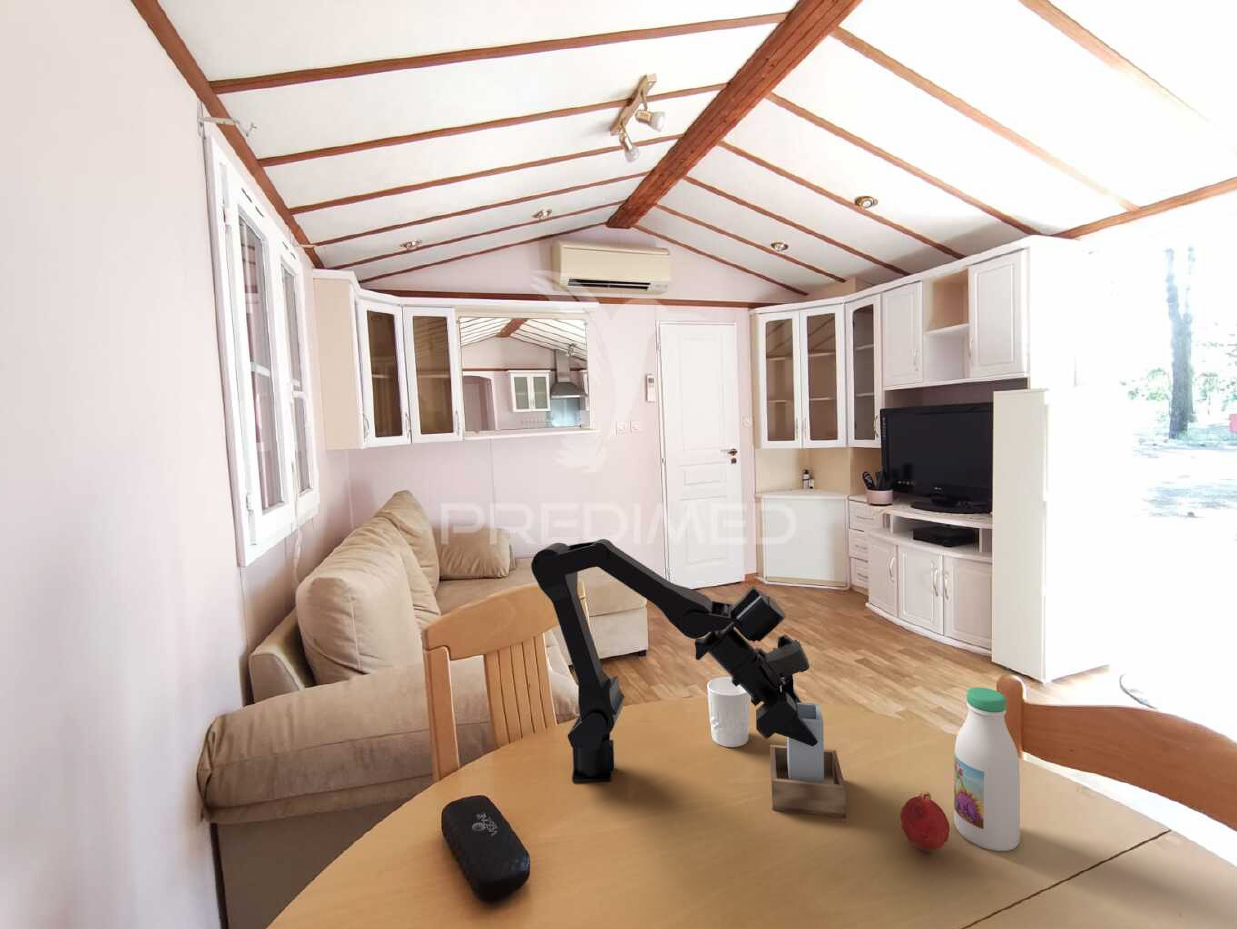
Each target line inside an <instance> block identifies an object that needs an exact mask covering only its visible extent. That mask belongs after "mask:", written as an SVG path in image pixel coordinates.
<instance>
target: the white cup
mask: <svg viewBox="0 0 1237 929" xmlns="http://www.w3.org/2000/svg"><path fill="white" fill-rule="evenodd" d="M706 685H707V688H706V690H707V702H708V703H707V704H708V714H709V724H710V734H711V739H712V741H713V742H715V743H716V744H717V745H719V746H723V747H727V748H738V747H741V746H744V745H746V744H747V743H748V741H749V727H750V715H751V696H750V695H749V694H748V693H747V692H746V691H745V690H744V689H743V688H742V687H741V686H740V685H738V686H737V687H736V686H735V685H734V684H733V683H732V677H731V676H730V677H729V676H728V677H727V676H723V677H716V678H713V679H711V680H709V681H708V682H707V684H706Z"/></svg>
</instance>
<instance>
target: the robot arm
mask: <svg viewBox="0 0 1237 929" xmlns="http://www.w3.org/2000/svg"><path fill="white" fill-rule="evenodd" d="M530 568H531V572H532V575H533V577H534V578H535V580H536V582H537V584H538V586H539V588H540V590H541V591H542V592H543V593H544V595H545V596H546V597H547V598H548V599H549V600H550V602H551V603H552V607H553V609H554V612H555V615H556V619H557V622H558V624H559V627H560V630H561V633H562V636H563V640H564V643H565V646H566V649H567V651H568V655H569V658H570V662H571V664H572V667H573V671H574V674H575V677H576V680H577V685H578V688H577V690H578V693H577V694H578V695H577V696H578V698H577V706H578V713H579V714H578V716H577V718H576V720H575V722H574V724H573V725H572V727H571V729H569V732H568V734H567V738H568V742H569V744H570V747H571V748H572V766H573V767H572V768H573V769H572V774H571V780H572V782H574V783H575V782H577V783H578V782H609V781H611V780H612V772H614V771H615V741H614V740H613V739H611V732H612V731H613V729H614V727H615V725H616V724H617V721H618V718H619V716H620V714H621V712H622V709H623V707H624V706H623V701H624V699H625V697H626V696H625V695H624V693H623V692H622V690H621V688H620V681H619V678H618V676H617V675H615V676H613V677H612V676H611V677H610V676H609V675H608V674H606V672H605V671H604V669H603V667H602V664H601V660H600V657H599V654H598V651H597V648H596V644H595V642H594V639H593V635H592V633H591V630H590V626H589V623H588V619H587V617H586V614H585V611H584V608H583V605H582V602H581V599H580V595H579V593H578V592H579V591H578V588H579V587H578V578H579V575H578V572H581V571H585V570H588V569H592V568H599V569H600V570H602V571H603V572H605V573H606V574H608V575H609V576H611V577H612V578H614V579H615V580H617V581H619V583H622V584H623V585H624V586H626V587H628V588H629V589H631V590H632V591H634V592H635V593H636V594H638V595H640V596H641V597H643V598H644V599H646V600H647V601H649V602H650V603H651V604H653V605H655V606H656V608H658V609H659V610H660V611H661V613H662V614H663V615H664V616H665V618H666V619H667V620H668V622H670V624H672V625H673V626H674V627H675V628H676V629H677V630H678V631H679V632H680V633H681V634H682V635H683V636H685V637H687V638H689V639H693V640H694V644H693V645H694V647H695V657H694V658H695V660H696V661H699V660H701V659H702V658H703V657H704V656H705V655H706V654H707V653H708V654H709V656H710V657H712V658H713V659H714V661H715V662H717V663H718V664H719V665H720V667H722V669H723V670H724V671H725V672H726V673H727V674H728V675H729V676H730V677H732V683H733V684H734V685H735V686H736V687H737V686H738V685H740V686H741V687H742V688H743V689H744V690H745V691H746V692H747V693H748V694H749V695H750V703H752V704H753V706H755V707H757V706H758V705H759V704H760V703H761V702H762V704H761V705H760V706H759V707H758V708H757V709H756V710H755V717H756V718H755V726H756V727H755V729H756V731H757V732H758V733H759V734H760V735H761V737H763V738H764V739H765V740H767V739H768V740H769V739H770V738H771V737H772V736H773V735H774V734H777V735H779V736H784V737H786V738H787V737H789V738H792V739H794V740H797V741H800V742H802V743H805V744H807V745H810V746H815V745H816V744H817V743H818V741H817V739H816V738H815V736H814V735H813V734H812V732H811V731H810V729H809V728H808V727H807V725H806V724H805V723H804V721H803V720H802V719H801V717H800V716H799V715H798V705H797V702H799V703H803V702H802V700H801V699H800V697H799V695H798V694H797V692H796V691H795V688H794V686H795V685H794V674H798V673H804V672H806V671H808V670H809V669H810V667H811V665H810V664H809V659H808V657H807V655H806V652H805V650H804V648H803V646H802V644H801V642H800V641H799V640H797V639H794V640H793V639H792V638H791V637H789V635H787V634H783V635H781V636H778V637H777V642H776V643H777V646H776V647H773V648H772V650H771V651H769V652H767V653H766V652H765V651H764V649H762V648H761V647H760V648H759V647H756V648H754V647H753V645H751V644H750V643H749V641H750V642H752V643H755V642H756V641H757V642H760V643H761V641H762V640H764V639H765V638H766V637H767V636H768V635H770V634H771V632H772V631H774V629H776V628H777V627H778V626H779V625H780V624H781V623H783V621H784V620H785V619H787V616H786V614H785V613H784V610H783V609H782V608H781V607H780V605H779V604H778V603H777V602H776V601H775V600H774V599H773V598H772V597H771V596H770V595H769V596H768V595H767V594H766V593H764V592H763V591H762V590H759V589H758V588H757V587H756V586H755V585H752V586H751V587H749V589H748V590H747V591H746V593H745V594H744V595H743V596H742V597H741V598H740V599H739V600H738V601H737V602H736V603H735V604H733V603H727V602H721V601H716V600H712V599H711V598H709V597H708V595H705V594H703V593H700V592H699V591H696V590H694V589H692V588H690V587H688V586H687V587H686V586H682V585H679V584H676V583H673V582H672V581H671V582H670V581H669V580H667V579H666V578H664V577H663V576H661V575H660V574H658V573H656V572H655V571H654V570H652V569H650V568H649V567H647V566H646V565H645V564H643V563H642V562H640V561H638V560H637V559H635V558H634V557H632V556H631V555H629V554H627V553H626V552H624V550H622V549H620V548H618V547H617V546H616V545H615V544H613V542H612V541H610V540H608V539H606V538H601V539H597V540H595V541H588V542H587V541H586V542H581V543H580V542H579V543H574V544H570V545H568V544H566V543H563V542H554V543H551V544H550V545H548V546H547V547H545V548H542V549H541V550H539V551H537V553H536V554H535V555H534V557H533V558H532V561H531V564H530Z"/></svg>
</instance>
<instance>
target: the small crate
mask: <svg viewBox="0 0 1237 929" xmlns="http://www.w3.org/2000/svg"><path fill="white" fill-rule="evenodd" d="M797 705H798V715H799V716H800V717H801V719H802V720H803V721H804V723H805V724H806V725H807V727H808V728H809V729H810V731H811V732H812V734H813V735H814V736H815V738H816V739H817V741H818V743H817V744H816V745H815V746H810V745H807V744H805V743H802V742H800V741H797V740H794V739H792V738H789V737H786V746H787V763H788V773H789V780H797V781H807V782H817V783H824V743H825V742H824V720H823V715H822V711H821V707H820V703H809V702H802V703H799V702H797Z"/></svg>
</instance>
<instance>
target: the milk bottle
mask: <svg viewBox="0 0 1237 929" xmlns="http://www.w3.org/2000/svg"><path fill="white" fill-rule="evenodd" d="M966 702H967V703H966V707H967V708H968V713H967V716H966V718H965V721H964V723H963V725H962V726H961V728H960V730H959V731H958V734H957V736H956V739H955V744H954V757H953V758H954V760H953V762H954V765H953V769H954V770H953V775H954V776H953V798H954V799H953V804H954V806H953V809H954V810H953V811H954V812H953V815H954V817H953V818H954V820H953V821H954V825H955V828H956V830H957V831H958V833H959V834H960V835H961V836H962V837H963V839H965V840H967V841H969V842H970V843H972V844H974V845H975V846H978V847H980V848H984V849H986V850H989V851H994V852H1009V851H1012V850H1014V849H1016V848H1017V847H1018V845H1019V844H1020V836H1021V787H1020V786H1021V785H1020V784H1021V783H1020V782H1021V777H1020V776H1021V775H1020V774H1021V773H1020V772H1021V770H1020V760H1019V759H1020V758H1019V754H1018V750H1017V747H1016V744H1015V741H1014V739H1013V738H1012V736H1011V734H1010V731H1009V729H1008V726H1007V724H1006V721H1005V720H1006V719H1005V715H1006V713H1007V710H1006V709H1007V698H1006V696H1005V695H1004V694H1002V693H1001V692H999V691H997V690H995V689H992V688H989V687H971V688H969V689H967V691H966Z"/></svg>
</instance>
